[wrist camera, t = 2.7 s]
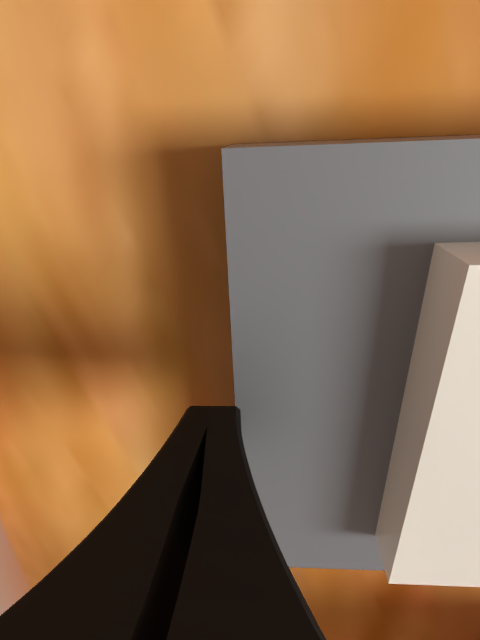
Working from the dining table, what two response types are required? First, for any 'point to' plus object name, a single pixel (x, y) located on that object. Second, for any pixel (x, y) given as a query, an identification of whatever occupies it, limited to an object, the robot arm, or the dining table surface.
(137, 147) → the dining table surface
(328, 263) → the block
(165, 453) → the robot arm
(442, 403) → the tile
